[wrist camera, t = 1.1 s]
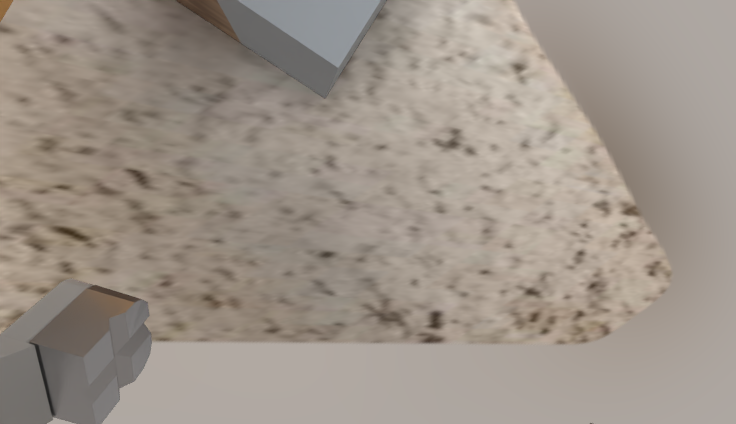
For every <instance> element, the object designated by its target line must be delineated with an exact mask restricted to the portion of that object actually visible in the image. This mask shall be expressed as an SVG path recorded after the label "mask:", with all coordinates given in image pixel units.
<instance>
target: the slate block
mask: <svg viewBox="0 0 736 424" xmlns="http://www.w3.org/2000/svg"><path fill="white" fill-rule="evenodd" d="M217 1H218V3H219V5H220V7H221V8H222V10H223V12H224V14H225V16H226V17H227V19H228V21H229V23H230V24H231V26H232V28H233V30H234V32H235V33H236V35H237V37H238V39H239V40H240V42H241V44H243V45H244V46H246V47H248V48H249V49H251V50H252V51H254V52H255V53H257V54H258V55H260V56H261V57H263V58H264V59H266V60H267V61H269V62H270V63H272V64H273V65H275V66H276V67H278V68H279V69H281V70H283V71H284V72H286V73H287V74H289V75H290V76H292V77H293V78H295V79H296V80H298V81H299V82H301V83H302V84H304V85H305V86H307V87H308V88H310V89H311V90H313V91H314V92H316V93H318V94H319V95H321V96H322V97H324V98H326V96H327V95H328V93H329V91H330V90H331V88H332V87H333V85H334V83H335V82H336V80H337V79H338V77H339V76H340V74H341V72H342V71H343V69H344V68H345V66H346V64H347V63H348V61H349V60H350V58H351V56H352V55H353V53H354V52H355V50H356V48H357V47H358V45H359V44H360V42H361V41H362V39H363V37H364V36H365V34H366V33H367V31H368V29H369V28H370V26H371V25H372V23H373V21H374V20H375V18H376V17H377V15H378V13H379V12H380V10H381V9H382V7H383V5H384V4H385V2H386V1H387V0H217Z"/></svg>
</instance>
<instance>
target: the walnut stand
mask: <svg viewBox="0 0 736 424" xmlns="http://www.w3.org/2000/svg"><path fill="white" fill-rule="evenodd" d="M176 1H178V2H179V3H181V4H182V5H184V6H185V7H187V8H188V9H190V10H191V11H193V12H194V13H196V14H197V15H199V16H200V17H202V18H203V19H205V20H206V21H208V22H210V23H211V24H213V25H214V26H216V27H217V28H219V29H220V30H222V31H223V32H225V33H226V34H228V35H229V36H231V37H232V38H234V39H235V40H237V41H238V42H240V40H239V39H238V37H237V35H236V33H235V32H234V30H233V28H232V26H231V24H230V23H229V21H228V19H227V17H226V16H225V14H224V12H223V10H222V8H221V7H220V5H219V3H218V1H217V0H176ZM240 43H241V42H240Z"/></svg>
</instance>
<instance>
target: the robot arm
mask: <svg viewBox="0 0 736 424" xmlns="http://www.w3.org/2000/svg"><path fill="white" fill-rule="evenodd" d="M148 317H149V309H148V302H146V301H144V300H142V299H139V298H136V297H132V296H129V295H126V294H123V293H119V292H116V291H113V290H110V289H106V288H103V287H100V286H97V285H92V284H89V283H85V282H82V281H79V280H75V279H72V278H71V279H68V280H65V281H62V282H61V283H59V284H58V285H57V286H56V287H55V288H54V289H52V290H51V291H50V292H49V293H48V294H47V295H45V296H44V297H43V298H42V299H41V300H40V301H38V302H37V303H36V304H35V305H34V306H33V307H31V308H30V309H29V310H28V311H27V312H26V313H24V314H23V315H22V316H21V317H20V318H19V319H17V320H16V321H15V322H14V323H13V324H12V325H10V326H9V327H8V328H7V329H6V330H5V331H3V332H2V333H1V334H0V424H47V423H48V422H50V421H52V420H53V417H55V418H58V419H62V420H65V421H69V422H73V423H76V424H101V423H102V422H103V421H104V419H105V418H106V417H107V416H108V414H109V413H110V412H111V411H112V409H113V408H114V407H115V405H116V404H117V403H118V402H119V400H120V394H119V388H121V387H123V386H125V385H127V384H130V383H132V382H134V381H135V380H136V378H137V377H138V375H139V374H140V373H141V371H142V370H143V368H144V366H145V364H146V362H147V359H148V357H149V355H150V350H151V344H152V340H151V332H150V331H149V330H148V328H147V327H146V326H145V324H144V321H145V320H146V319H147V318H148ZM590 424H592V423H590Z"/></svg>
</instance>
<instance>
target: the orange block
mask: <svg viewBox="0 0 736 424" xmlns="http://www.w3.org/2000/svg"><path fill="white" fill-rule="evenodd" d="M12 2H13V0H0V22H1V20H2V18H3V17H4V15H5V13H6V12H7V10H8V8H9V7H10V5H11V3H12Z"/></svg>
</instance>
